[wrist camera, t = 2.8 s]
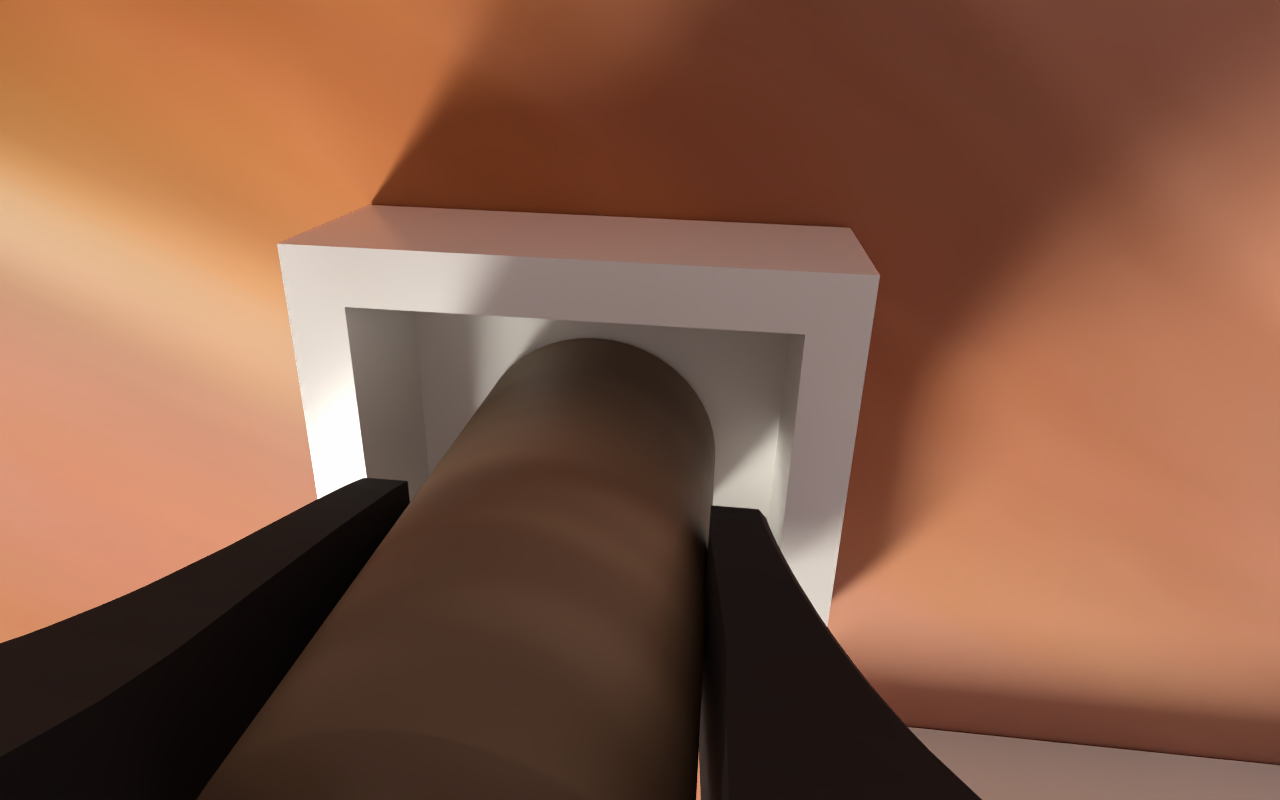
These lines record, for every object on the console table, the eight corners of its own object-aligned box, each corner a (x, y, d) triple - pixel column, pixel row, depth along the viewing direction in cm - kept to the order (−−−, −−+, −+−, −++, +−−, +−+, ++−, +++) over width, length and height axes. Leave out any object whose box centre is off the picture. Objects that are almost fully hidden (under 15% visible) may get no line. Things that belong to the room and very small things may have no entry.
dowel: (723, 346, 12) (701, 764, 5) (707, 559, 14) (675, 1106, 7) (472, 330, 13) (126, 700, 6) (486, 540, 14) (231, 1039, 7)
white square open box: (850, 227, 12) (880, 274, 10) (797, 627, 15) (809, 743, 13) (368, 205, 13) (277, 243, 10) (411, 591, 16) (349, 694, 13)
